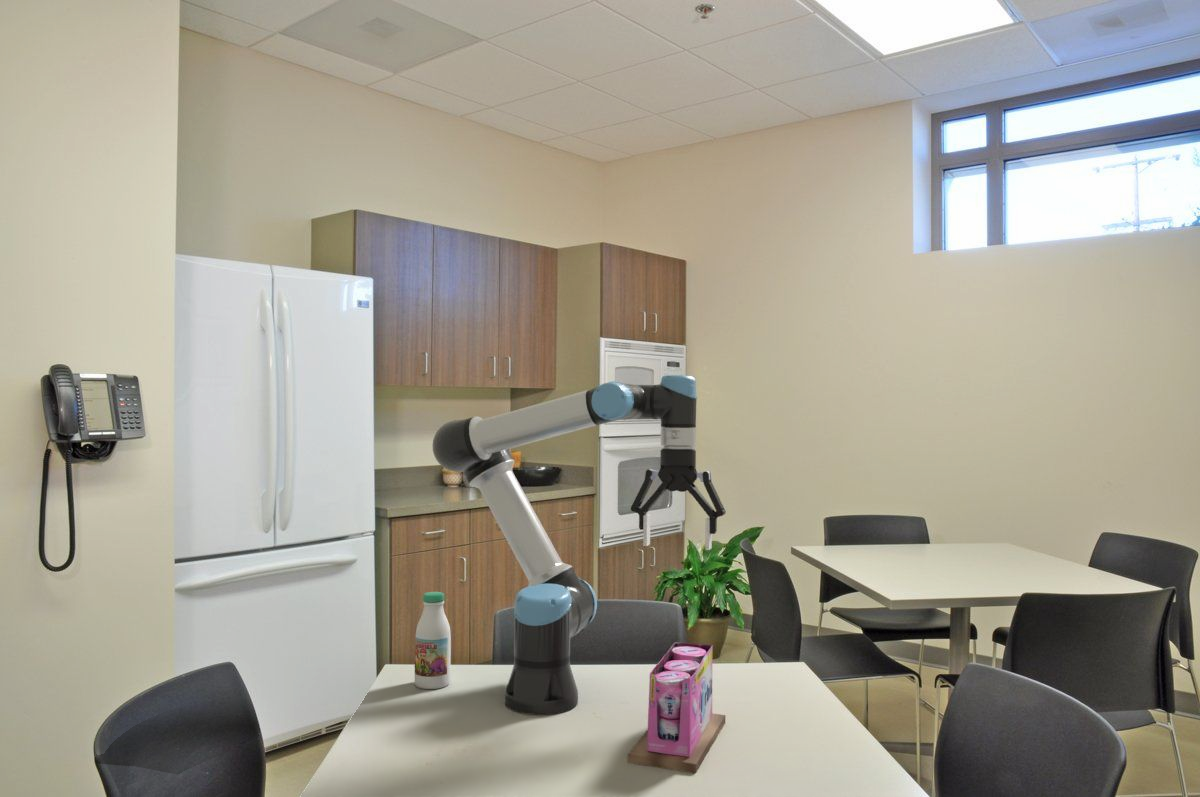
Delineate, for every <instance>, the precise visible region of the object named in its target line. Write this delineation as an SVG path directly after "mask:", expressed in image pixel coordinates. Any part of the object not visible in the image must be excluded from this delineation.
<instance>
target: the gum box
mask: <svg viewBox="0 0 1200 797" xmlns="http://www.w3.org/2000/svg"><path fill="white" fill-rule="evenodd" d="M713 647H714V645H713V644H712V645H711V644H701V643H691V642H680V641H679V642H678V641H675V642H674V643H673V644H672V645H671V646H670V648H669V649H668V651H667V652H666V653H665V654H664V655H663V656H662V658H661V659H660V661H658V663H657V664H656V665H655V666H654V667H653V668H652V669H651V671H650V672H649V689H648V692H649V694H648V707H647V708H648V716H647V730H648V736H647V751H651V752H657V753H663V754H671V755H679V756H685V757H690V755H691V753H692V751H693V749H694V748H695V746H696V744H697V742H698V740H699V739H700V737H701V735H702V733H703V731H704V730H705V727H706V725H707V724H708V722H709V720H710V718H711V716H712V713H713V660H714V659H713Z"/></svg>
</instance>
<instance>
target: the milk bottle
mask: <svg viewBox="0 0 1200 797" xmlns="http://www.w3.org/2000/svg"><path fill="white" fill-rule="evenodd" d="M422 602H423V603H422V604H423V610H422V613H421V615H420V616H421V617H420V618H419V620H418V623H417V626H416V630H415V639H414V640H415V642H414V644H415V646H414V684H415V687H417V688H419V689H423V690H437V689H441V688H442V689H443V688H445V687H448V686H449V685H450V682H451V657H452V656H451V647H452V646H451V645H452V643H451V642H452V641H451V640H452V639H451V636H452V634H451V633H452V632H451V626H450V623H449V620H448V618H447V616H446V613H445V609H444V604H445V593H443V592H441V591H429V592H425V593H423V595H422Z"/></svg>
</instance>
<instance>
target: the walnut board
mask: <svg viewBox="0 0 1200 797" xmlns="http://www.w3.org/2000/svg"><path fill="white" fill-rule="evenodd" d="M725 724H726V714H719V713H713V712H712V716H711V718H710V720H709V722H708V724H707V725H706V727H705V730H704V731H703V733H702V735H701V737H700V739H699V740H698V742H697V744H696V746H695V748H694V749H693V751H692V753H691V755H690V757H685V756H679V755H671V754H663V753H657V752H651V751H647V736H648V729H647V730H646V731H645V732H644V733H643V735H642V736H641V737H640V738H639V739H638V741H636V743H635V744H634V746H632V748H631V749H630V751H628V753H627V763H629V764H634V765H635V764H636V765H641V766H649V767H655V768H661V769H668V770H674V771H680V772H687V773H694V774H697V772H698V770H699V769H700V767H701V766H702V764H703V762H704V760H705V758H706V757H707V755H708V753H709V752H710V750H711V747H713V745H714V743H715V741H716V740H717V738H718V736H719V735H720V733H721V731H722V729H723V728H724V726H725ZM718 734H719V735H718Z"/></svg>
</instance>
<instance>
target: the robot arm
mask: <svg viewBox="0 0 1200 797" xmlns="http://www.w3.org/2000/svg"><path fill="white" fill-rule="evenodd" d="M659 383H660V384H654V385H653V384H633V383H632V384H631V383H623V382H622V383H621V382H620V381H609V382H605V383H602V384H599V385H598V386H597V387H594V388H591V389H587V390H583V391H579V392H576V393H575V392H574V393H573V394H568V395H566V396H562V397H558V398H554V399H551V400H547V401H543V402H540V403H536V404H533V405H529V406H526V407H522V408H518V409H515V410H512V411H508V412H505V413H500V414H496V415H494V416H491V417H490V416H489V417H487V418H482V417H480V416H472V417H469V418H465V419H455V420H454V419H453V420H451V421H448V422H446V423H444V424H443V425H442V426H441V425H440V427H439V429H438V430H436V432H435V433H434V437H433V440H432V453H433V456H434V458H435V460H436V461H437V462H438V464H439V465H440V466H441V467H443V468H444V469H446V470H447V471H451V472H454V473H462V474H463V475H464V477H465V480H466V481H467V483H468V484H469V487H473V488H476V489H477V490H479V492H480V493H481V495H482V497H483V499H484V500H485V503H486V505H487V506H488V507H489V510H490V512H491V513H492V515H493V517H494V519H495V521H496V523H497V525H498V527H499V528H500V530H501V532H502V534H503V535H504V537H505V540H506V541H507V543H508V545H509V547H510V549H511V551H512V552H513V554H514V556H515V558H516V560H517V561H518V564H519V565H520V567H521V569H522V571H523V573H524V575H525V577H526V579H527V580H528V586H526V587H523V588H522V589H520V590H519V591H518V592H517V593H516V596H515V600H514V607H513V616H514V618H513V619H514V620H513V623H514V624H513V633H514V634H513V667H512V670H511V673H510V676H509V679H508V681H507V682H508V683H507V684H506V688H505V691H504V705H505V706H506V707H507V708H508V709H510V710H512V711H514V712H518V713H522V714H527V715H553V714H561V713H564V712H567V711H569V710H572V709H573V708H575V707H577V705H578V704H579V690H578V687H577V684H576V680H575V677H574V674H573V672H572V671H573V670H572V668H571V660H570V659H571V639H572V638H573V637H575V636H576V635H578V634H579V633H581V632H583V631H585V629H587V627H589V625H590V624H591V622H592V621H593V620H594V618H595V616H596V614H597V608H598V601H597V600H598V599H597V596H596V591H595V590H594V588H593V587H592V586H591V584H589V583H588V581H585V580H584V579H581V578H580V577H579V576H578V574H577V572H576V571H575V569H574V567H573V565H571V564H568V563H564V562H563V561H562V559H561V557H560V556H559V554H558V552H557V550H556V548H555V546H554V544H553V543H552V540H551V539H550V537H549V536H548V535H549V534H548V533H547V532H546V530H545V528H544V526H543V525H542V523H541V521H540V519H539V516H537V514H536V512H535V510H534V507H533V506H532V504H531V502H530V501H529V499H528V497H527V495H526V494H525V491H524V490H523V488H522V486H521V484H520V482H519V480H518V479H517V477H516V476H515V473H514V471H513V468H514V465H515V460H514V458H513V456H512V454H511V449H514V448H518V447H521V446H525V445H528V444H532V443H536V442H540V441H544V440H548V439H550V438H555V437H557V436H561V435H565V434H569V433H572V432H576V431H580V430H584V429H587V428H592V427H595V426H600V425H604V424H608V423H612V422H614V421H615V422H616V421H620V420H621V421H622V420H623V421H625V420H657V421H658V420H660V446H662V447H663V448H661V449H660V468H659V470H654V469H653V468H649V469H646V470H645V473H644V474H645V475H644V476H645V477H644V481H643V483H642V484H641V487H640V488H639V491H638V493H637V494H636V497H635V499H634V500H633V503H632V504H631V507H630V511H631V512H635V513H636V514H638V527H639V530H641V531H643V532H642V534H643V537H642V539H643V540H642V546H643V547H648V546H650V545H651V514H648V512H649V511H650V509H651V508H653V506H654V505H655V504H656V503H657V502H658V500H659V499H660V497H662V495H663V494H665V492H666V491H668V492H681V493H683V492H686V491H687V492H688V493H689V494H690V495H691V496H692V497H693V498H694V499H695V500H696V502H697V504H698V505H699V506H700V507H701V509H702V510H703V511H704V512H705V514H706V515H707V516H708V517H707V518H705V537H704V538H705V544H704V545H705V548H704V549H705V551H710V550H712V547H713V545H712V544H713V542H712V541H713V540H712V539H713V535H715V534H716V533H717V530H718V528H717V527H718V526H717V525H718V524H717V521H718V518H720V517H722V516H724V515H726V509H725V507H724V505H723V503H722V501H721V499H720V496H719V495H718V492H717V490H716V488H715V486H714V484H713V482H712V475H711V474H712V473H711V471H710V470H705V471H700V472H699V471H697V466H696V465H697V463H696V462H697V461H696V460H697V456H696V455H697V454H696V453H697V451H696V449H695V448H694V447H696V445H697V399H698V397H697V385H696V383H697V382H696V379H695V377H693V376H691V375H681V374H680V375H679V374H678V375H676V374H675V375H663V376H661V381H660V382H659ZM657 477H658V478H659V480H660V481H661V484H660V485H659V486H658V488H657V489H656V490H655V491H654V492H653V493H652V495H651V496H650V497H649V498H648V499H647V501H646V502H645V503H644V504H643V502H644V500H645V497H646V496H647V494H648V492H649V490H650V487H651V486H652V484H653V482H654V481H655V480H656V479H657ZM697 479H699V481H700V482H702V483H703V485H704V488H705V490H706V493H707V495H708V496H709V499H710V500H711V503H712V505H713V507H714V508H713V507H712V506H711V503H709V501H708V500H707V499H706V497H704V495H703V494H702V493H701V491H700V490H699V488H698V487H697V485H696V484H695V482H696V481H697ZM642 504H643V505H642Z"/></svg>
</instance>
